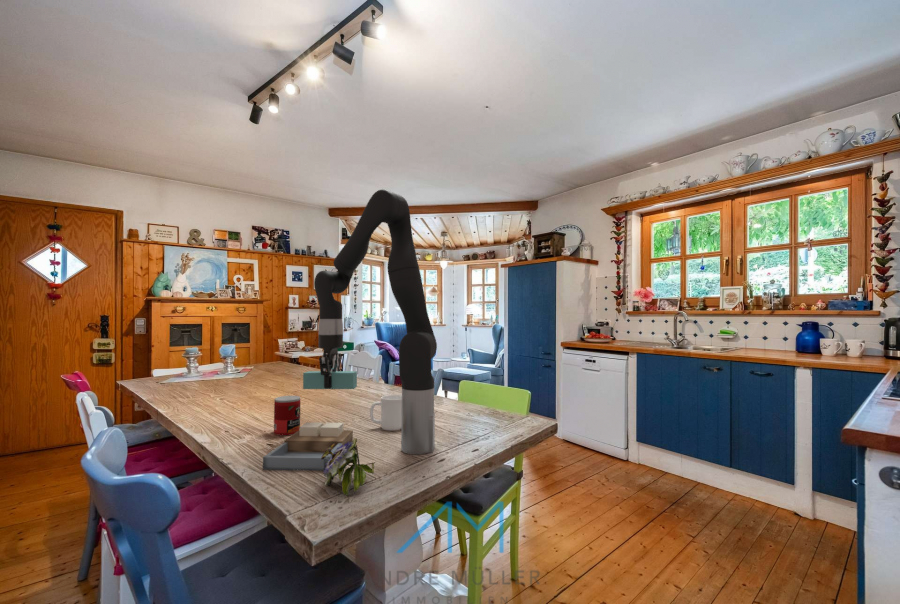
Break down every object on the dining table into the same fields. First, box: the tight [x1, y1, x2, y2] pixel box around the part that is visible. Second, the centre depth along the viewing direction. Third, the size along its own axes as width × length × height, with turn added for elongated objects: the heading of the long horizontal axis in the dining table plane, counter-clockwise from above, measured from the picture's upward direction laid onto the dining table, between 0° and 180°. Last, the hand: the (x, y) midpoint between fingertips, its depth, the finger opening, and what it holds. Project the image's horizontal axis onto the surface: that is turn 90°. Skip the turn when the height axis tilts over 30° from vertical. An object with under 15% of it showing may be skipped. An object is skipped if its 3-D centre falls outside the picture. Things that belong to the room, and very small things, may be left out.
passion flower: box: [321, 438, 376, 497], centre depth 85 cm, size 11×11×12 cm
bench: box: [283, 429, 354, 452], centre depth 109 cm, size 16×10×4 cm, turn 88°
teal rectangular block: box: [302, 370, 358, 390], centre depth 122 cm, size 16×4×5 cm, turn 88°
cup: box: [369, 394, 402, 431], centre depth 129 cm, size 8×12×10 cm
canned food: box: [273, 395, 301, 437], centre depth 123 cm, size 8×8×11 cm
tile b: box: [299, 421, 324, 436], centre depth 111 cm, size 5×5×2 cm
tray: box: [262, 441, 342, 472], centre depth 98 cm, size 16×11×3 cm
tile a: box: [320, 422, 344, 437], centre depth 110 cm, size 5×5×2 cm
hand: (330, 386), depth 122 cm, fingers closed on teal rectangular block, 4 cm apart
